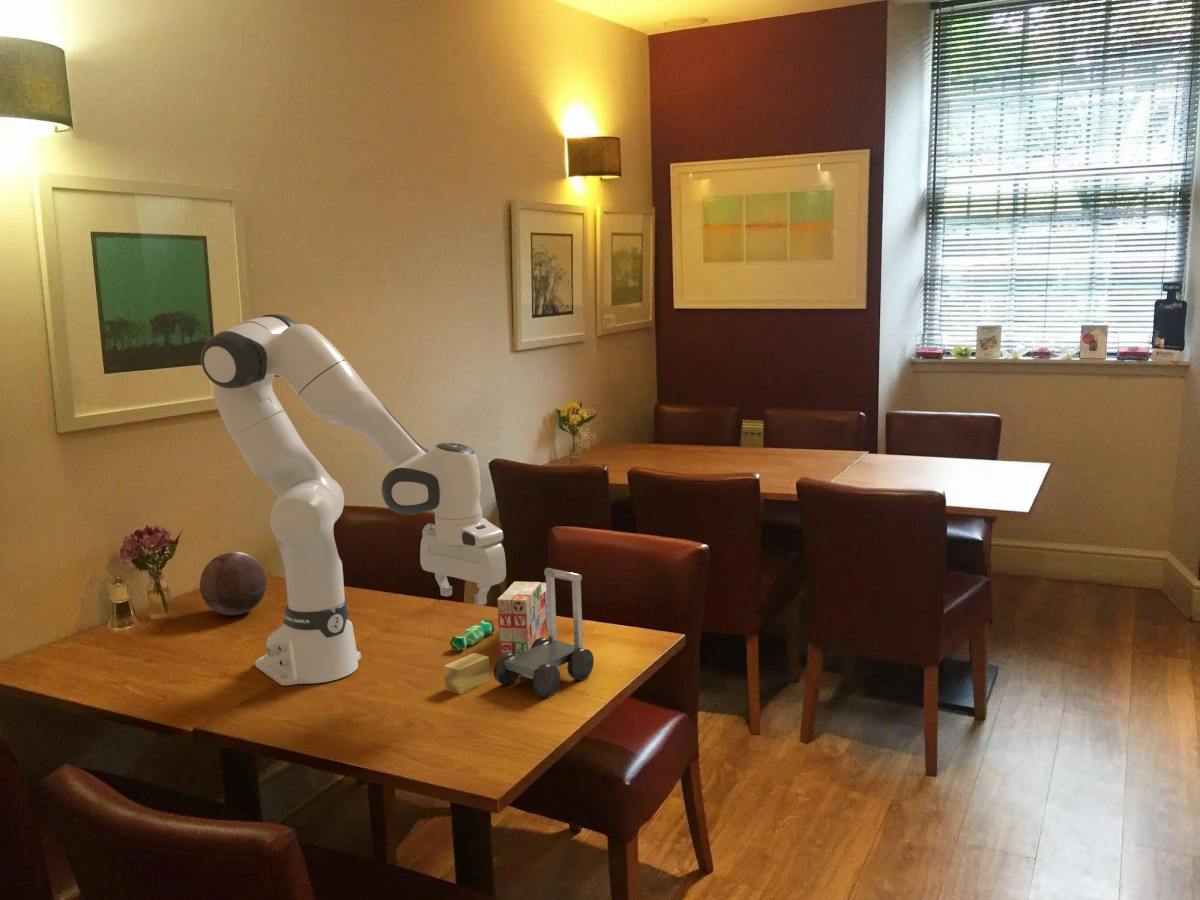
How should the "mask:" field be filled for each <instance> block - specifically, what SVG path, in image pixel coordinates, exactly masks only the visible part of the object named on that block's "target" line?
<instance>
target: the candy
mask: <svg viewBox="0 0 1200 900" xmlns="http://www.w3.org/2000/svg"><path fill="white" fill-rule="evenodd" d="M494 631H496V627H495V625H494V624H493V621H492V620H490V619H486V618H483V619H482V620H481V621H480V622H479V625H478V624H477V625H476V624H474V625H472V626H470V627H469V628H467V629H465V630H464V631H463V633H462V635H461V636H453V637H452V638H451V640H450V641H449V645H450V647H451V649H452V650H455V649H461V650H464V649H465V650H466V649H467V646H469V645H472V646H474V645H475V644H476V642H477V643H479V642H480V641H482V639H483V638H484V636H489V635H488V634H490V635H492V634H493V633H494ZM479 640H480V641H479ZM462 648H464V649H462ZM455 651H456V650H455Z"/></svg>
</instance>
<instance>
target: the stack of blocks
mask: <svg viewBox="0 0 1200 900" xmlns="http://www.w3.org/2000/svg"><path fill="white" fill-rule="evenodd" d="M497 613H498V614H497V623H498V633H499V634H498V635H499V643H498V644H499V655H502V654H504V653H512V654H520V653H523V652H525V651H527V650H529V649H531V646H532V645H533V643H534V642H535V641H536V640H537V639H538V638H541V637H542V638H543V636H544V634H545V633H546V632H547V631H548V618H547V594H546V582H541V581H513V583H511V584H510V586H509V587H508V588H507V589H506V590H505V591H504V592H503V593H502V594H501V595H500V596H499V597H498V598H497ZM545 631H546V632H545Z"/></svg>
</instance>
